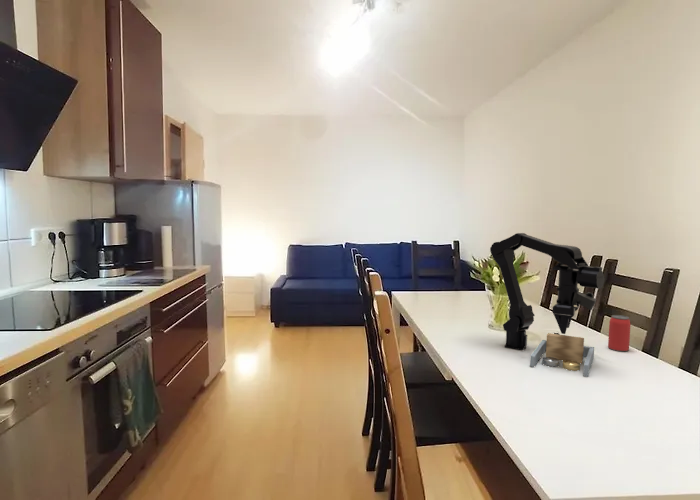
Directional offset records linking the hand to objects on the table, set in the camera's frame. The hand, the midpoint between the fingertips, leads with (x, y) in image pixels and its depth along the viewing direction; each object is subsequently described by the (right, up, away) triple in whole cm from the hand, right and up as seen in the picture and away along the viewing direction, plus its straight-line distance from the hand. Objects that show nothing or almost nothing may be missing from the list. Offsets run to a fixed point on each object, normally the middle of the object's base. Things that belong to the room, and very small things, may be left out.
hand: (565, 330), depth 152 cm
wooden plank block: (0, -10, +1) cm, 10 cm away
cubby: (-2, -10, -2) cm, 10 cm away
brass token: (-2, -11, -8) cm, 13 cm away
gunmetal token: (-7, -10, -4) cm, 13 cm away
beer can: (+25, -9, +13) cm, 30 cm away
